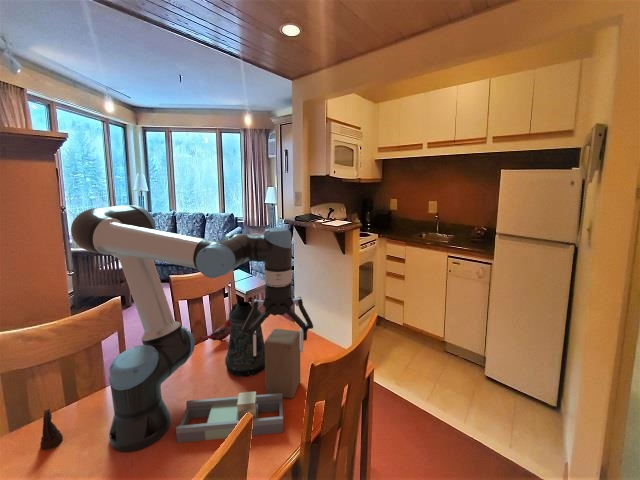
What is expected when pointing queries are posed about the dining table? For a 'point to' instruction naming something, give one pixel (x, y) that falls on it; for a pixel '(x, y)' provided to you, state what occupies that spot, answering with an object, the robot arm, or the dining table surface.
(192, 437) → the board
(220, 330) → the decorative bird figurine
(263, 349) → the beer stein
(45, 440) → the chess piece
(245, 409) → the birch block
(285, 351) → the wooden block
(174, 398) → the dining table surface
